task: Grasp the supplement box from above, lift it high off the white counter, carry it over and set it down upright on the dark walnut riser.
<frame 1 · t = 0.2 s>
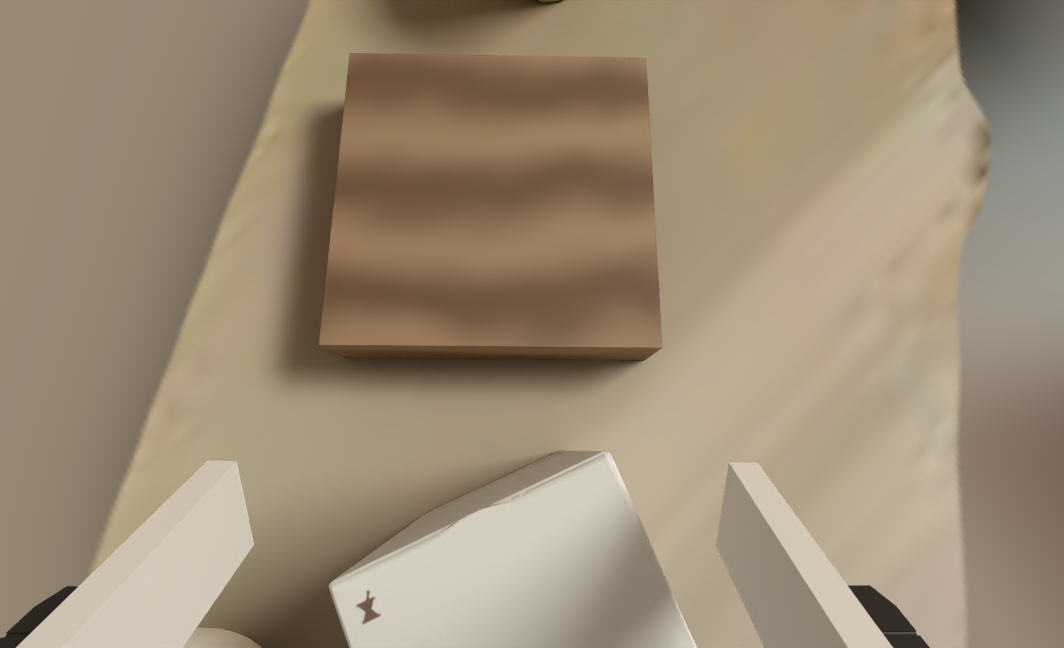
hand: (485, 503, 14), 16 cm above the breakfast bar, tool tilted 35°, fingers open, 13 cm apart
walnut riser: (498, 220, 33), on the breakfast bar
supplement box: (527, 555, 28), on the breakfast bar
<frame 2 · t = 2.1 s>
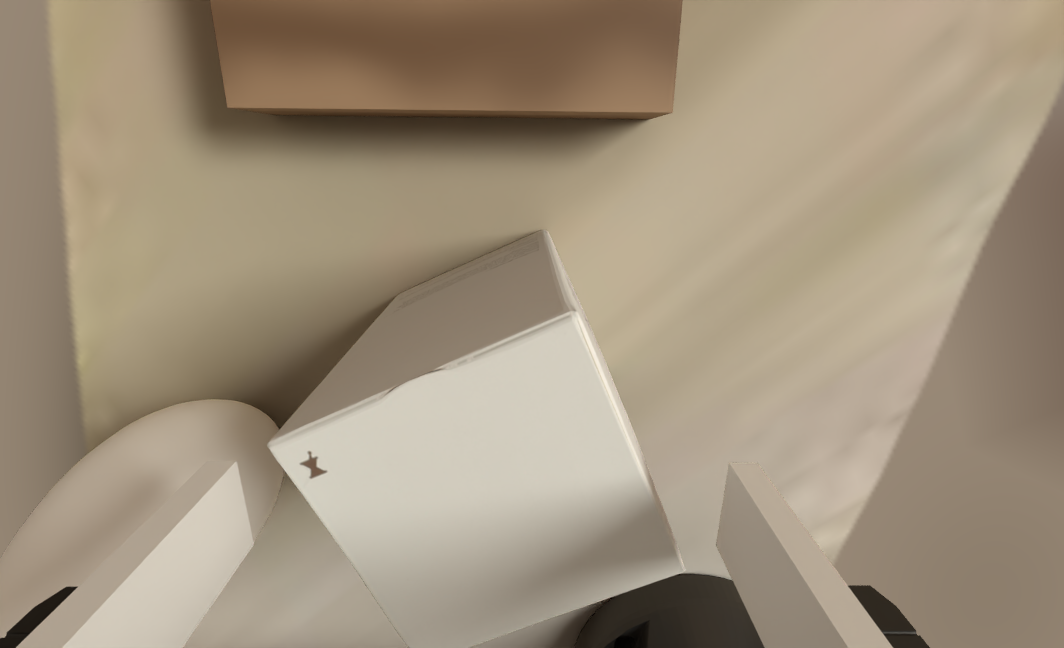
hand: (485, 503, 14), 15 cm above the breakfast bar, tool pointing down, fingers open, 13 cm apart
supplement box: (506, 332, 28), on the breakfast bar
white teardrop-shaped piece: (250, 427, 30), on the breakfast bar
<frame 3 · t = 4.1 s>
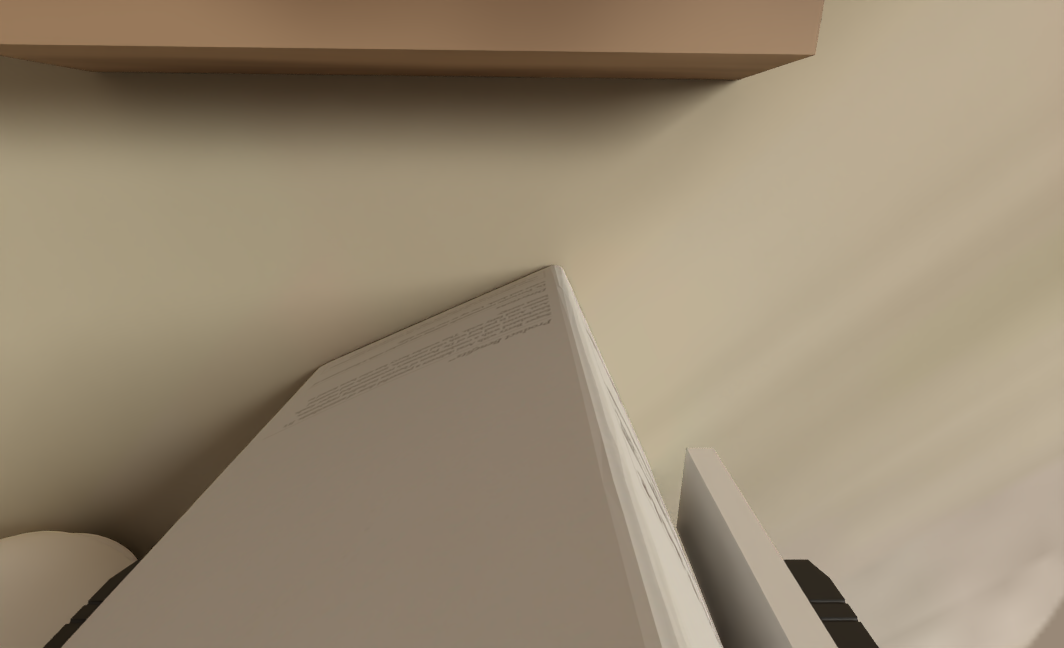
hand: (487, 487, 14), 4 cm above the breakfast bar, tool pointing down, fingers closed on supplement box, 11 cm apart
supplement box: (494, 420, 18), on the breakfast bar, touching gripper
white teardrop-shaped piece: (110, 555, 20), on the breakfast bar
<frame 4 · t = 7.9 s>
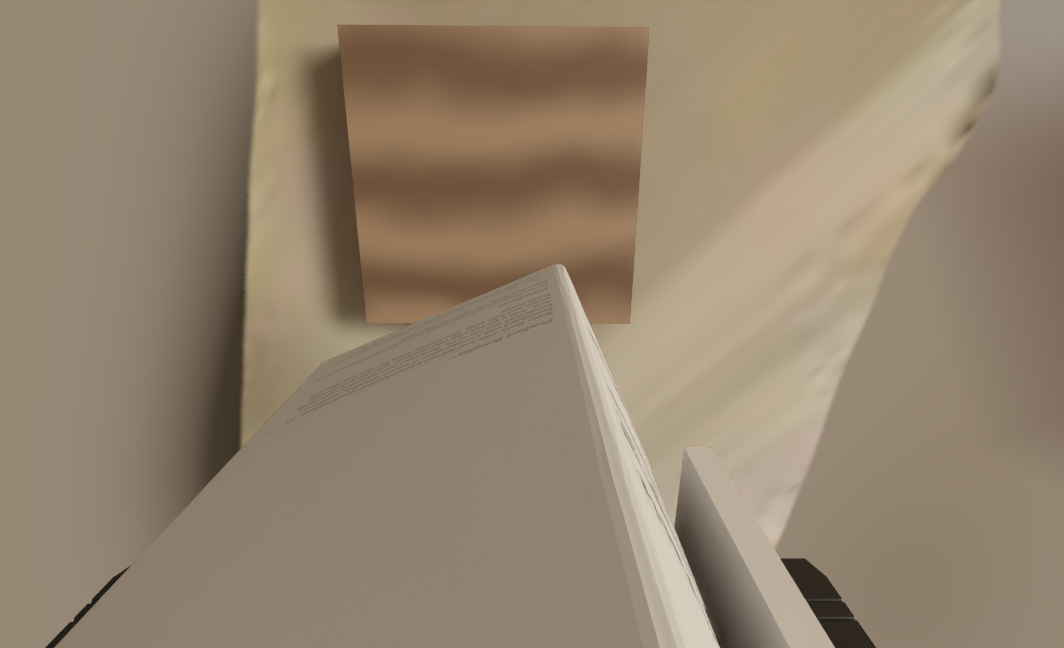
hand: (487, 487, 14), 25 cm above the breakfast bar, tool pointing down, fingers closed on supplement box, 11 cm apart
walnut riser: (499, 184, 36), on the breakfast bar
supplement box: (495, 418, 18), point 21 cm above the breakfast bar, touching gripper
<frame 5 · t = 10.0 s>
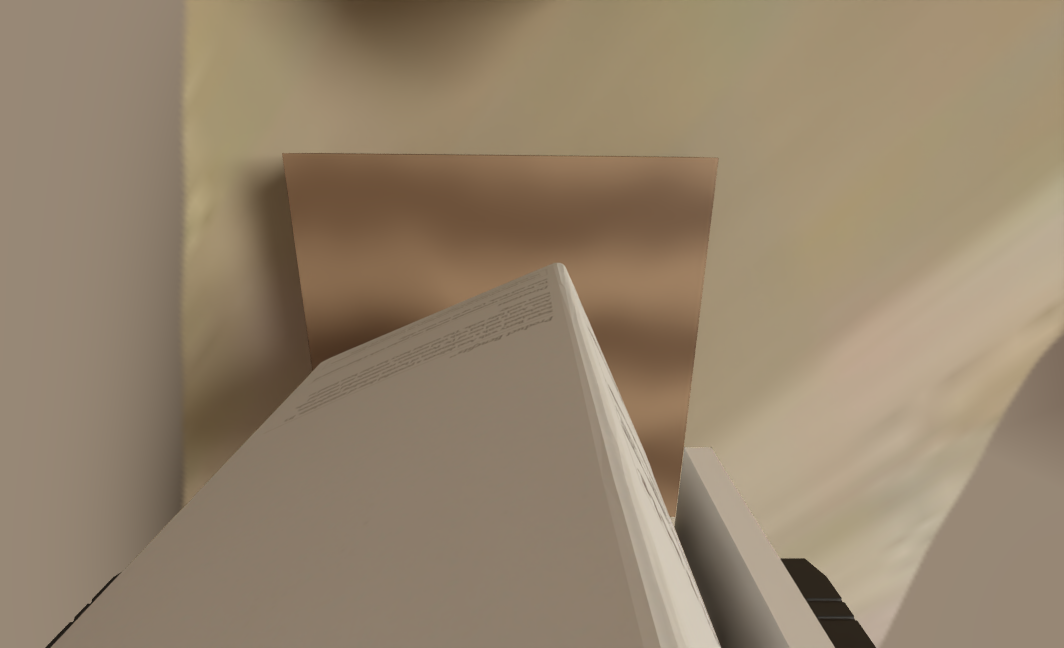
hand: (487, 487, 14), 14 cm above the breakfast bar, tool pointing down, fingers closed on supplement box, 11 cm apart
walnut riser: (506, 329, 28), on the breakfast bar
supplement box: (495, 417, 18), point 10 cm above the breakfast bar, touching gripper
when the fingers open (9 cm above the breakfast bar, at t = 11.8 s): supplement box drops 1 cm, resting on walnut riser.
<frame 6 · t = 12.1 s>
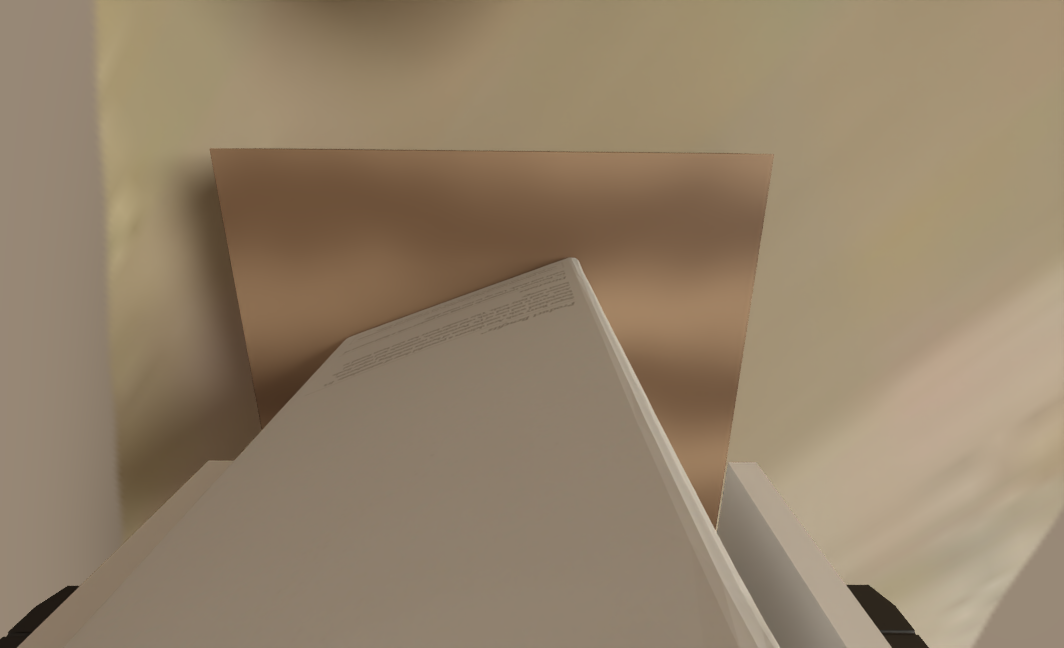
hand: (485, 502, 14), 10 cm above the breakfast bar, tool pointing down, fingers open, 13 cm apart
walnut riser: (502, 361, 23), on the breakfast bar
supplement box: (504, 399, 19), point 4 cm above the breakfast bar, touching walnut riser
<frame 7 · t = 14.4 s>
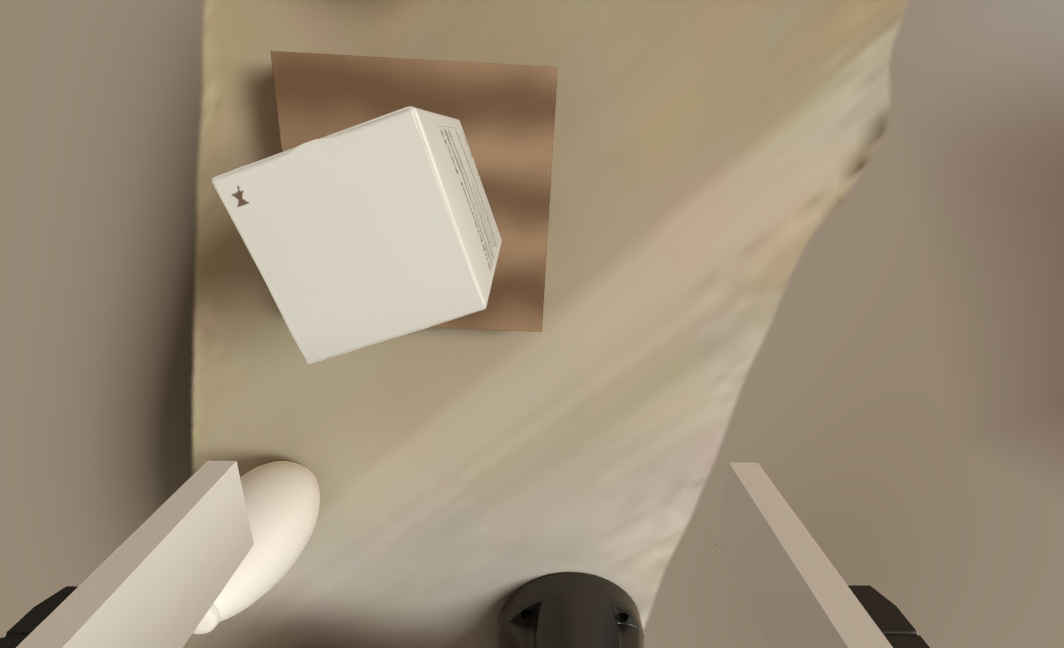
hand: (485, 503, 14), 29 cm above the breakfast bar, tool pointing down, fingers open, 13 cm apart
walnut riser: (429, 198, 39), on the breakfast bar
supplement box: (423, 203, 35), point 4 cm above the breakfast bar, touching walnut riser
white teardrop-shaped piece: (296, 473, 48), on the breakfast bar
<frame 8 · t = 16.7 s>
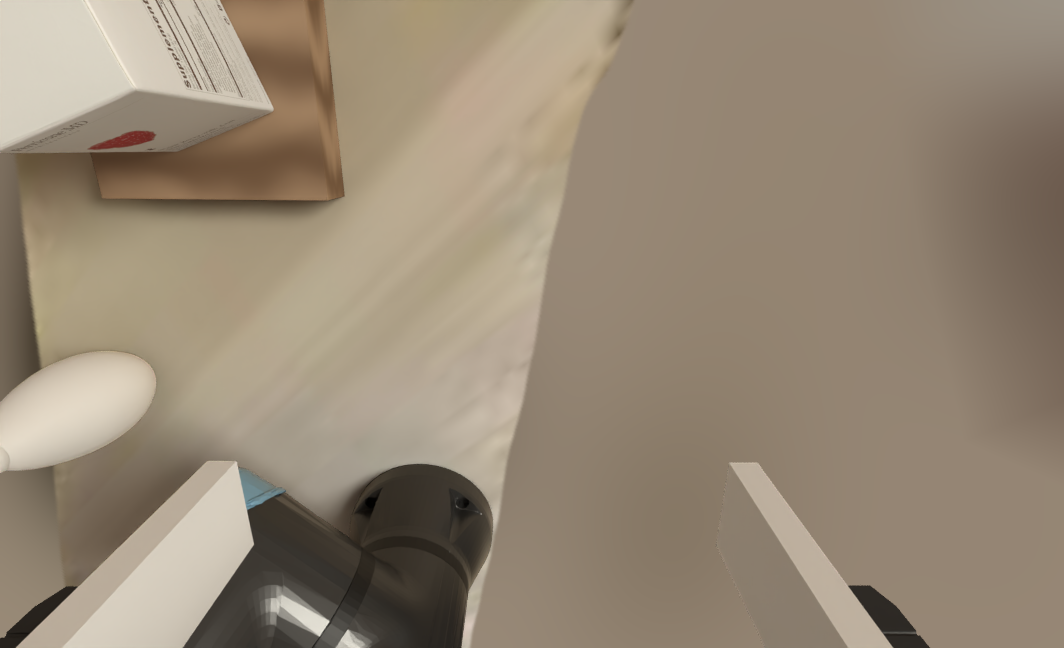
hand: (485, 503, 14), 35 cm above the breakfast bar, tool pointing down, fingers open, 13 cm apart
walnut riser: (222, 82, 42), on the breakfast bar
supplement box: (197, 74, 38), point 4 cm above the breakfast bar, touching walnut riser
white teardrop-shaped piece: (140, 370, 50), on the breakfast bar
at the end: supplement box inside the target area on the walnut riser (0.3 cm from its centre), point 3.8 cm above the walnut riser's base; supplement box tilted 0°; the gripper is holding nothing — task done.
